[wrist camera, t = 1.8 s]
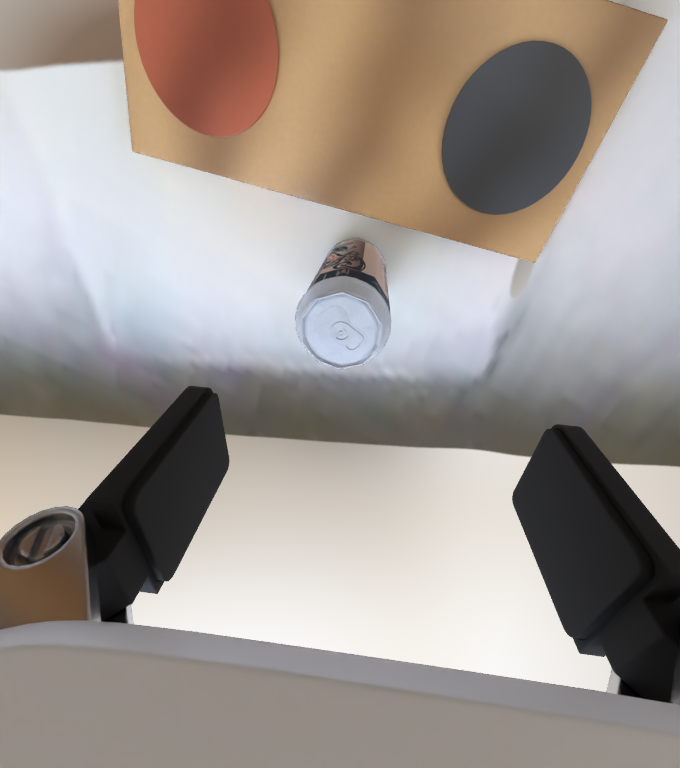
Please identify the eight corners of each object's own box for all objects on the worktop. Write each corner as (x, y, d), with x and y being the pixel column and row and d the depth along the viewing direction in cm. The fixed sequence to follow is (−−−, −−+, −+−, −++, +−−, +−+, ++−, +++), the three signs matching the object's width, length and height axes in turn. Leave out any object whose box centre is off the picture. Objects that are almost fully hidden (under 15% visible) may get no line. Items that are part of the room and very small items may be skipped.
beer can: (350, 222, 24) (331, 258, 14) (398, 265, 25) (413, 327, 15) (312, 274, 26) (272, 338, 16) (358, 312, 27) (348, 392, 17)
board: (145, 152, 23) (128, 151, 21) (122, -139, 16) (96, -170, 15) (527, 258, 24) (537, 264, 23) (647, 30, 18) (673, 16, 16)
